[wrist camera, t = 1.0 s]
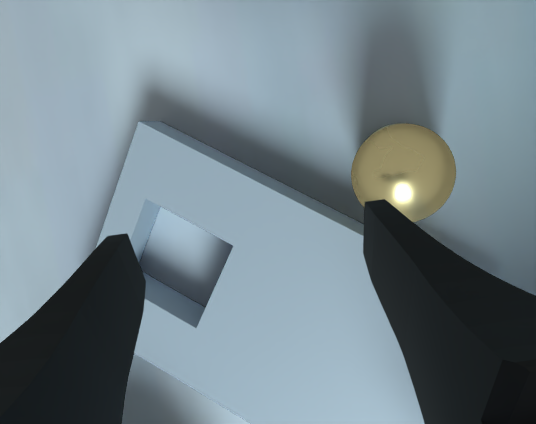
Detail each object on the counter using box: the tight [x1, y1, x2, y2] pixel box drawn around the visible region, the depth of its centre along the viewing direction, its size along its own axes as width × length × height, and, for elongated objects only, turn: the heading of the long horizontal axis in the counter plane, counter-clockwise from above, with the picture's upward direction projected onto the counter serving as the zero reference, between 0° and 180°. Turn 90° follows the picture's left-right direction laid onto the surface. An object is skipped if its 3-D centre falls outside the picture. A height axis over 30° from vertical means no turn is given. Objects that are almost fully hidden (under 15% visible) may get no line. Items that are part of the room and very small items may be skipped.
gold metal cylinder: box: [351, 123, 456, 222], centre depth 21 cm, size 4×4×6 cm
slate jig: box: [96, 121, 425, 424], centre depth 26 cm, size 22×14×2 cm, turn 66°
